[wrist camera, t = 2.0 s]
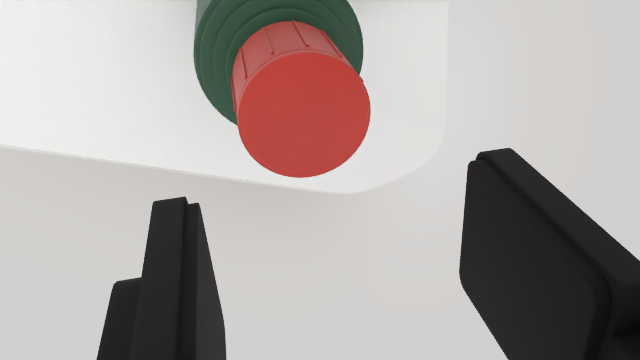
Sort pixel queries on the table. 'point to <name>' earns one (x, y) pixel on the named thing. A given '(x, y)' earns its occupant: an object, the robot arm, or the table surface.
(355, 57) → the bottle
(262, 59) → the cap
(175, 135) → the table surface
